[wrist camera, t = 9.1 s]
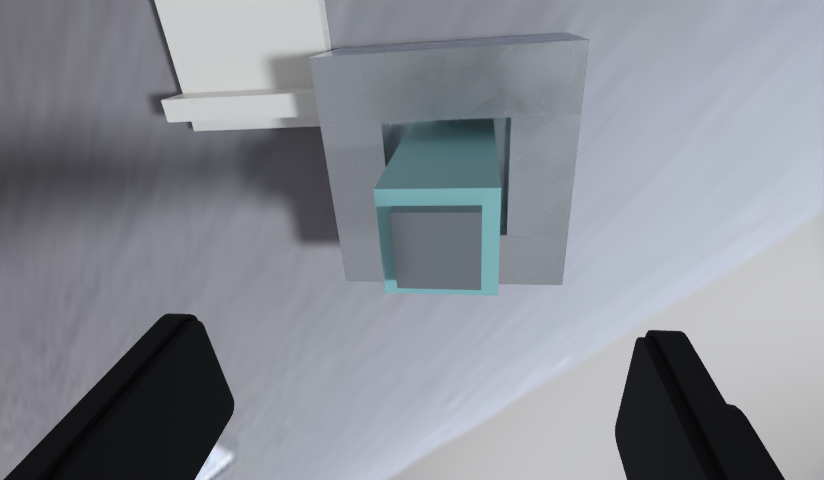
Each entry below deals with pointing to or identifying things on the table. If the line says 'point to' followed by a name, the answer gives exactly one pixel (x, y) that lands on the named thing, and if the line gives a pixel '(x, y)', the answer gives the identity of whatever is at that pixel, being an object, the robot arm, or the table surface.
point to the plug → (441, 210)
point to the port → (458, 101)
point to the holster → (244, 61)
